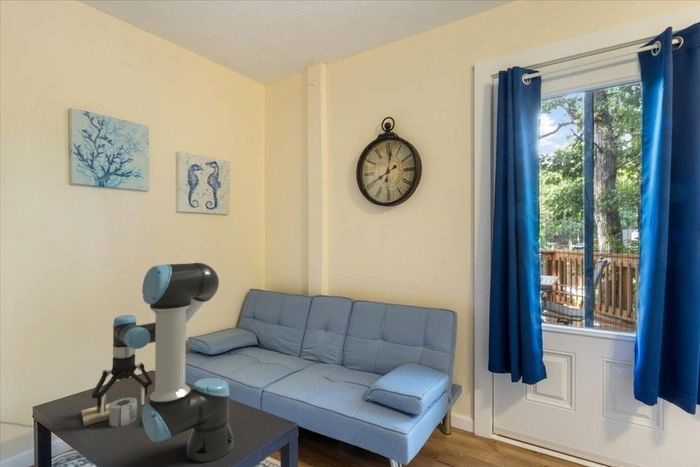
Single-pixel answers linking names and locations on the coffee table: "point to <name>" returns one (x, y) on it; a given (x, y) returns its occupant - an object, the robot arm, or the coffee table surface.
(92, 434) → the coffee table surface
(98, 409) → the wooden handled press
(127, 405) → the studded hollow tube
